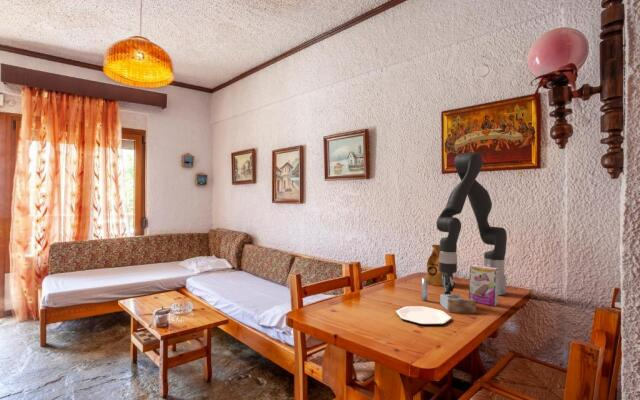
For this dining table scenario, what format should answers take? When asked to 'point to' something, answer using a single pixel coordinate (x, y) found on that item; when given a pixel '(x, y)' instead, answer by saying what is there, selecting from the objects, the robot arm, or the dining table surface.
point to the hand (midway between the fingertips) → (447, 299)
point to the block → (447, 299)
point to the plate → (423, 315)
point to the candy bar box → (484, 285)
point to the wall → (462, 305)
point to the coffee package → (434, 267)
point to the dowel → (424, 289)
